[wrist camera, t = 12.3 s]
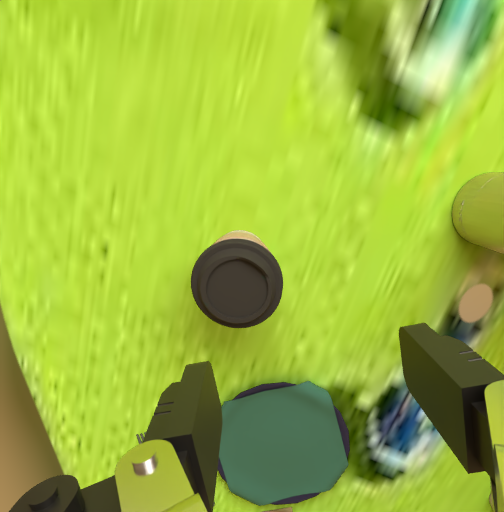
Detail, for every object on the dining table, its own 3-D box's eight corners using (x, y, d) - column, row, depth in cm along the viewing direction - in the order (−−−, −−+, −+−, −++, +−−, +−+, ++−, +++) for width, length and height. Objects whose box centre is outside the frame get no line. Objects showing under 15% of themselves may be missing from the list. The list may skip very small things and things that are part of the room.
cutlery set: (359, 478, 58) (363, 491, 55) (170, 519, 60) (167, 533, 58) (330, 361, 54) (333, 369, 51) (128, 410, 56) (123, 420, 54)
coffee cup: (249, 301, 51) (248, 354, 37) (192, 264, 50) (168, 303, 35) (288, 247, 50) (304, 279, 35) (231, 207, 48) (222, 223, 34)
